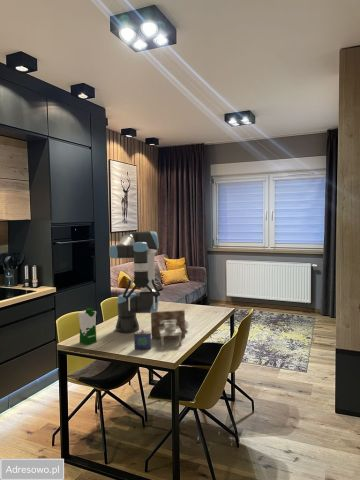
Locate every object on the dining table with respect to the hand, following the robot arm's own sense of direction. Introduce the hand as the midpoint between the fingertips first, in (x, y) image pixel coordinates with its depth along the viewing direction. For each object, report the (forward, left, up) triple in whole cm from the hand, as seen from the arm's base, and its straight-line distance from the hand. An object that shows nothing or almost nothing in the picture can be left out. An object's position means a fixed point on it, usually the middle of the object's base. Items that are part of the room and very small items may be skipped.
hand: (141, 309), depth 200 cm
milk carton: (-31, +18, -22) cm, 42 cm away
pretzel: (+25, +28, -22) cm, 44 cm away
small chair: (+16, +9, -22) cm, 29 cm away
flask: (0, 0, -22) cm, 22 cm away
